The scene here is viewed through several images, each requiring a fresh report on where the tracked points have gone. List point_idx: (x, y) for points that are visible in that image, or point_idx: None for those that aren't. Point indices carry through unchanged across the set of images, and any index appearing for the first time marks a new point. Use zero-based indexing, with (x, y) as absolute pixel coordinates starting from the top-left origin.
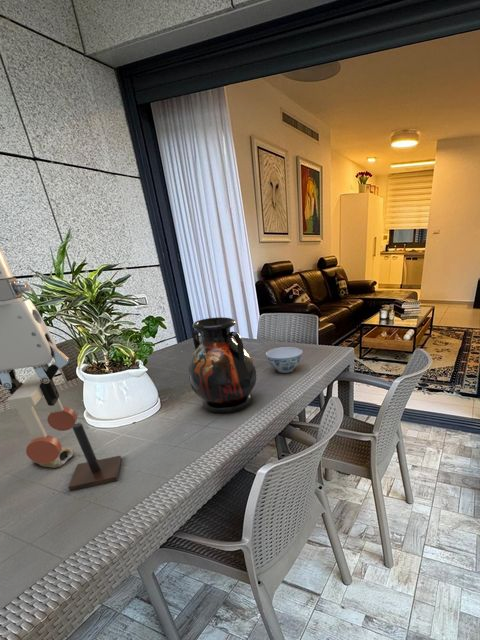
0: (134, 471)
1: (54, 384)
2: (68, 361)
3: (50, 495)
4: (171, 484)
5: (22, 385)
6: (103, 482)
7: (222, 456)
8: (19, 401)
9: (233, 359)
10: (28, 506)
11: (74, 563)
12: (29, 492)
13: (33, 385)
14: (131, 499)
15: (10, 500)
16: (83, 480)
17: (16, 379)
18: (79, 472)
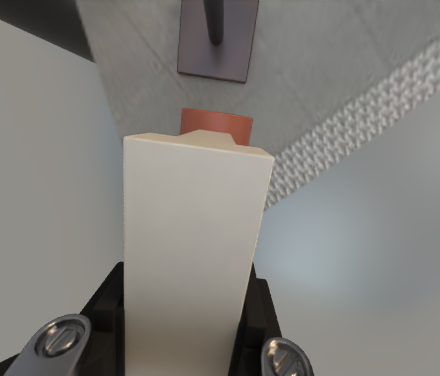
0: (272, 68)
1: (277, 325)
2: None
3: (151, 69)
4: (314, 140)
5: (132, 341)
6: (226, 80)
7: (408, 103)
8: None
9: None
10: (127, 84)
11: None
12: (116, 38)
13: (192, 369)
14: (259, 147)
15: (94, 48)
16: (198, 63)
17: (85, 357)
18: (189, 27)
